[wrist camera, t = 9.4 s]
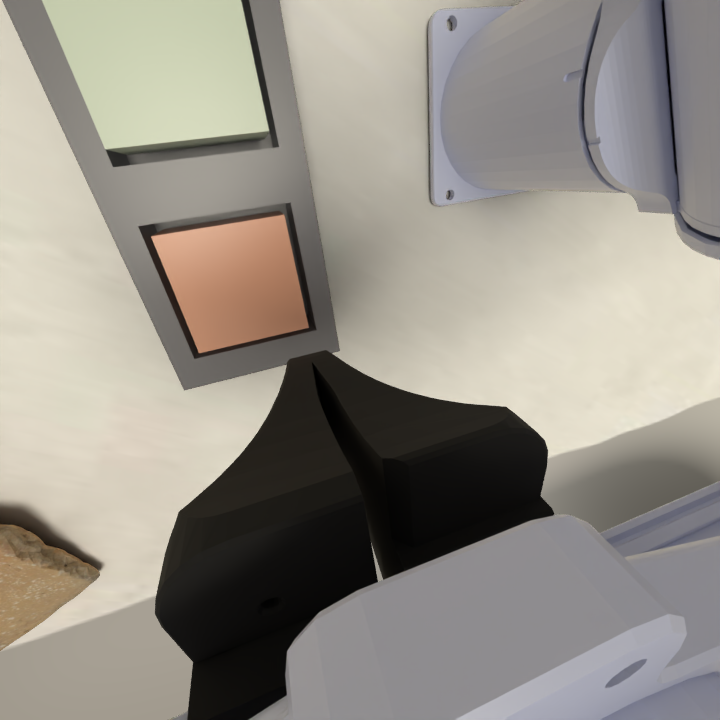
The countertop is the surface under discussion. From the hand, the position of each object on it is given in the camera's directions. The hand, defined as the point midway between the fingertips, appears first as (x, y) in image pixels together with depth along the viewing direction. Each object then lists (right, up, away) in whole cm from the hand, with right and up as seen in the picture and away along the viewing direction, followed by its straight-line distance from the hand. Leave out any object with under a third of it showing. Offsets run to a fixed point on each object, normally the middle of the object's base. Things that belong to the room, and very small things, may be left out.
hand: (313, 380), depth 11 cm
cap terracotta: (-5, +5, +6) cm, 9 cm away
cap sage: (-5, +11, +1) cm, 13 cm away
